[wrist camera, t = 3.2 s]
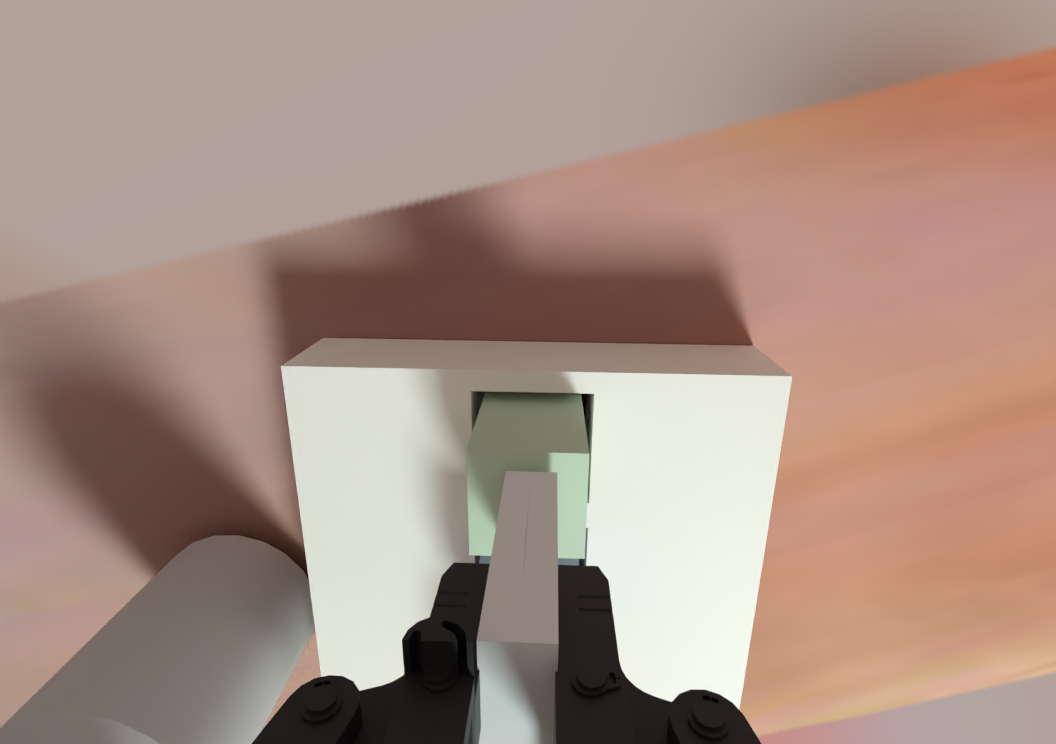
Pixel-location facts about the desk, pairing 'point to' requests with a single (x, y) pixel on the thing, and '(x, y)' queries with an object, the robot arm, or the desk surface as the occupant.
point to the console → (612, 504)
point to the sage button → (528, 462)
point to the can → (182, 655)
